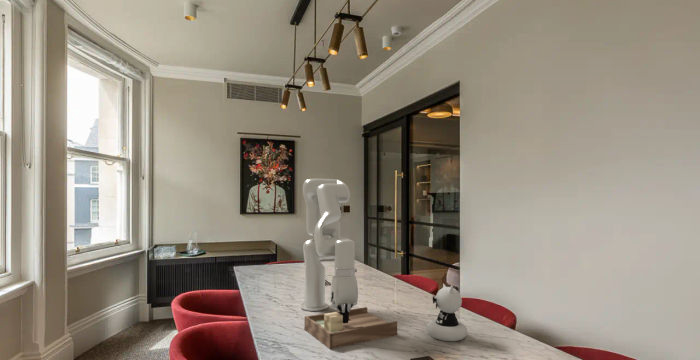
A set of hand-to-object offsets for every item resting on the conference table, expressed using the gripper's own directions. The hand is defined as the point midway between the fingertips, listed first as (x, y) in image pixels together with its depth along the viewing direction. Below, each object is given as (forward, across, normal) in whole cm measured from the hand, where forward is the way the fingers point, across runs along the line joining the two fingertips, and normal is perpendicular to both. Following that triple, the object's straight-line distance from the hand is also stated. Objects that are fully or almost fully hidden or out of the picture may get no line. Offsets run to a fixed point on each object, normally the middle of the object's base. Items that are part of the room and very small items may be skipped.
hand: (344, 322), depth 144 cm
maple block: (+1, +5, 0) cm, 5 cm away
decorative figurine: (+5, -33, +20) cm, 38 cm away
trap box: (+4, -3, -1) cm, 5 cm away
